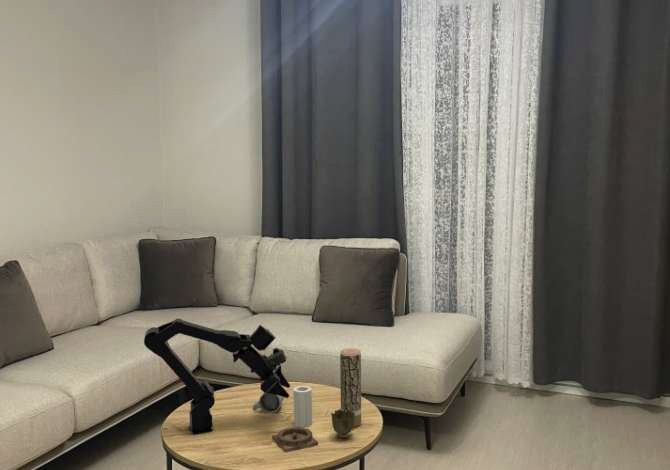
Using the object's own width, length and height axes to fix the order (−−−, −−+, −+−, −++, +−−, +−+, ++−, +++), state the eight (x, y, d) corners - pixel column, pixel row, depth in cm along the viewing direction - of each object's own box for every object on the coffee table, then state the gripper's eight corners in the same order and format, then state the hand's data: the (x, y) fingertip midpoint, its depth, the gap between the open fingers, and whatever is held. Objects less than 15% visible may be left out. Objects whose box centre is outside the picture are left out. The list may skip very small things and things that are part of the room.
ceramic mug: (284, 404, 244) (284, 384, 243) (280, 413, 235) (279, 392, 235) (256, 404, 245) (255, 384, 244) (250, 413, 237) (249, 392, 236)
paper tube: (359, 429, 222) (358, 355, 218) (339, 427, 223) (338, 354, 220) (362, 420, 228) (362, 348, 225) (343, 419, 230) (342, 348, 226)
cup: (341, 430, 221) (341, 406, 220) (359, 436, 216) (359, 412, 215) (326, 438, 215) (326, 414, 214) (345, 444, 210) (344, 419, 209)
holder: (285, 452, 205) (284, 443, 205) (272, 438, 215) (272, 430, 215) (318, 444, 210) (317, 436, 210) (303, 432, 220) (303, 423, 219)
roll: (302, 428, 222) (302, 393, 221) (290, 423, 226) (289, 389, 225) (315, 423, 227) (315, 388, 225) (303, 418, 231) (302, 384, 229)
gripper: (269, 351, 214) (305, 384, 215) (272, 335, 232) (305, 365, 234) (245, 376, 214) (281, 408, 216) (250, 358, 233) (283, 388, 235)
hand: (289, 391), depth 225 cm, fingers open, 9 cm apart
